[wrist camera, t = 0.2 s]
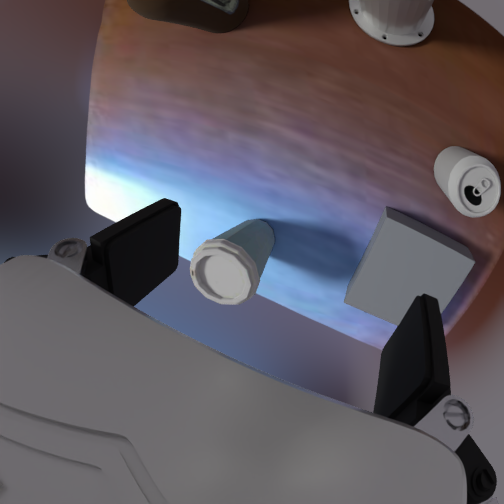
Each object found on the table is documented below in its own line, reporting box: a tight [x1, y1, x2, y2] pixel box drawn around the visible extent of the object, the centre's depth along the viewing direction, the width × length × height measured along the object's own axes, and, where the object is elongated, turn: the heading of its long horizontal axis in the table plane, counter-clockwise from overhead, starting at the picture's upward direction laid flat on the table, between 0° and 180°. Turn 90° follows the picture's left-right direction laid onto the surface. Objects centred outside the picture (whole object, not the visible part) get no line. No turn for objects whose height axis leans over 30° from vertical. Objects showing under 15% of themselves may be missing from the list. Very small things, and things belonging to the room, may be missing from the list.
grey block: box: [344, 206, 475, 326], centre depth 42 cm, size 16×16×5 cm
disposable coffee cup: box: [190, 219, 275, 304], centre depth 47 cm, size 11×11×15 cm
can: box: [434, 146, 501, 217], centre depth 30 cm, size 8×8×12 cm
